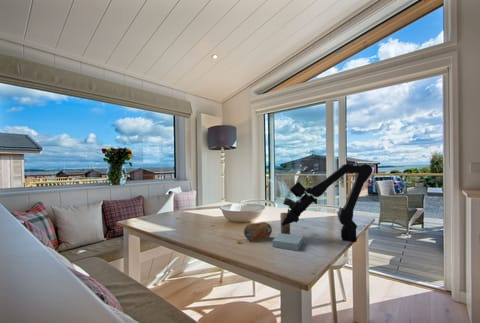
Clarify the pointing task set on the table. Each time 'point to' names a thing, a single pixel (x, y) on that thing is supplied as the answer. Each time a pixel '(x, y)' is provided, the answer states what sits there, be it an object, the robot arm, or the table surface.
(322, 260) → the table surface
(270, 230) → the tin
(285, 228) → the walnut column
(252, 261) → the table surface
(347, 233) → the robot arm
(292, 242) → the slate plinth
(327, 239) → the table surface
